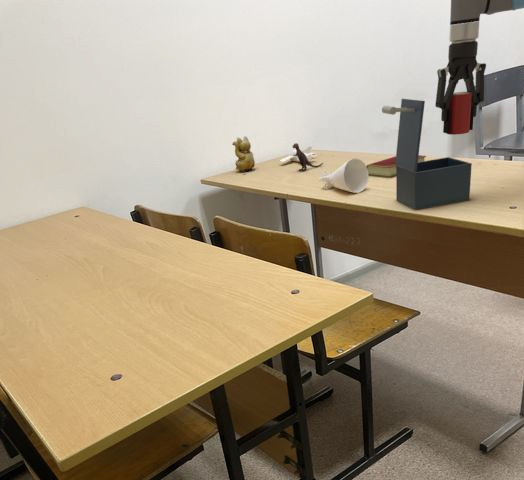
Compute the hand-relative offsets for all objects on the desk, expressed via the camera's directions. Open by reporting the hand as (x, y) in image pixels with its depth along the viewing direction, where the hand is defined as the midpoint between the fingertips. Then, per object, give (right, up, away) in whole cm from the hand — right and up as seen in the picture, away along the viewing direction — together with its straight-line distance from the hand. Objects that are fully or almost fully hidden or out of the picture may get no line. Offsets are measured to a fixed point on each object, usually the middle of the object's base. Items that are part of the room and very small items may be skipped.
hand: (457, 131), depth 157 cm
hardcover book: (-5, +6, +53) cm, 53 cm away
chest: (-5, -18, +9) cm, 21 cm away
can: (0, 0, 0) cm, 0 cm away
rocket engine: (-28, -6, +37) cm, 47 cm away
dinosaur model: (-37, +15, +77) cm, 87 cm away
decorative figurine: (-65, +19, +92) cm, 114 cm away
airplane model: (-40, +24, +94) cm, 104 cm away
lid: (-14, -2, -1) cm, 15 cm away
